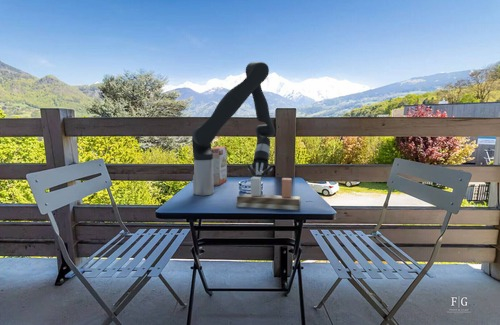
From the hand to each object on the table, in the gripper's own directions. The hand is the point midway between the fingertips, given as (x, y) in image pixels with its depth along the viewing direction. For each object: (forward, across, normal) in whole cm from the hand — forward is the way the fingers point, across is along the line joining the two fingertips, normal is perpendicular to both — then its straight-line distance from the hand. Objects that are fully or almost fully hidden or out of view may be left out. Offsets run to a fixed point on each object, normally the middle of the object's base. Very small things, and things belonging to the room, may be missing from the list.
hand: (257, 183), depth 130 cm
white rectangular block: (+7, 0, -1) cm, 7 cm away
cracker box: (-12, -27, +22) cm, 37 cm away
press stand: (+12, +7, -3) cm, 14 cm away
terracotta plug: (+7, +14, -1) cm, 16 cm away
